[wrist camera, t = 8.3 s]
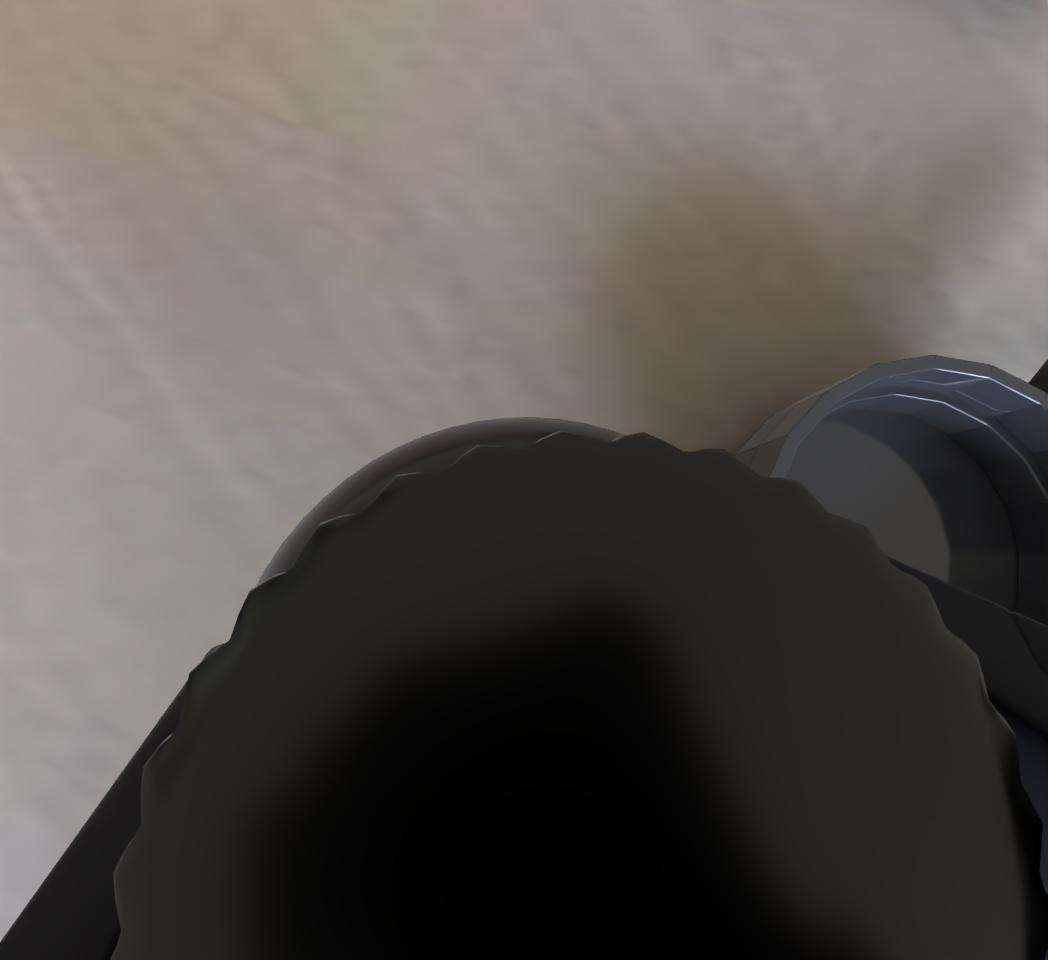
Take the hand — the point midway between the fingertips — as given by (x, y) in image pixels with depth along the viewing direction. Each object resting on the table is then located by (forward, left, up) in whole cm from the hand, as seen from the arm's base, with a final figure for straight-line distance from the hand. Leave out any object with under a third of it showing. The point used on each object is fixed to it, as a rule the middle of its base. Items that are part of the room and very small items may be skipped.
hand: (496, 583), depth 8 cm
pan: (+11, -10, -13) cm, 20 cm away
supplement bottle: (-1, -1, -7) cm, 7 cm away
